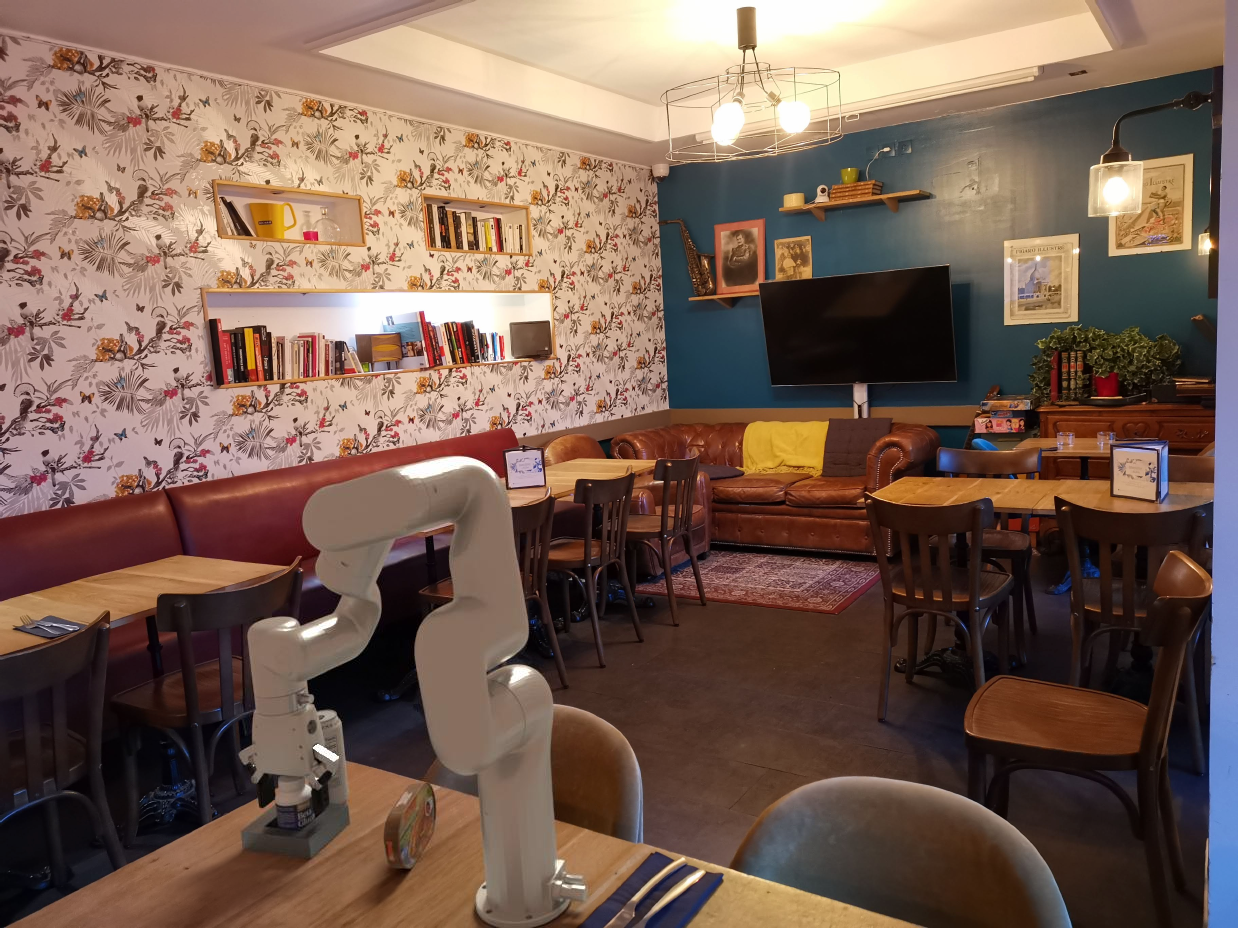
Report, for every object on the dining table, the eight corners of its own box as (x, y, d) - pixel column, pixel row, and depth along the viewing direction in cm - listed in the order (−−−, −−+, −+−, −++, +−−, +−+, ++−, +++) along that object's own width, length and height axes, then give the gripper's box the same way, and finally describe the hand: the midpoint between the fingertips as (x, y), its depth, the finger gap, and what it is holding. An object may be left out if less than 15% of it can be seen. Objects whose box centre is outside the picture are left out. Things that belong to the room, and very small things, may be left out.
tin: (405, 880, 124) (399, 824, 123) (383, 880, 124) (377, 824, 123) (439, 823, 139) (435, 772, 138) (420, 822, 139) (415, 772, 138)
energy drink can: (355, 793, 150) (346, 707, 148) (340, 811, 144) (331, 723, 142) (320, 793, 150) (311, 708, 149) (305, 812, 145) (295, 723, 143)
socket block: (350, 822, 140) (348, 804, 140) (311, 858, 131) (309, 839, 130) (285, 815, 144) (283, 797, 143) (242, 849, 134) (240, 830, 134)
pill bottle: (304, 847, 134) (297, 785, 133) (272, 844, 135) (265, 784, 134) (323, 827, 139) (317, 768, 138) (292, 826, 140) (285, 767, 139)
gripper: (346, 693, 136) (357, 799, 138) (251, 687, 141) (263, 789, 143) (316, 713, 128) (328, 825, 131) (217, 706, 133) (230, 813, 136)
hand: (294, 806), depth 137 cm, fingers open, 9 cm apart
